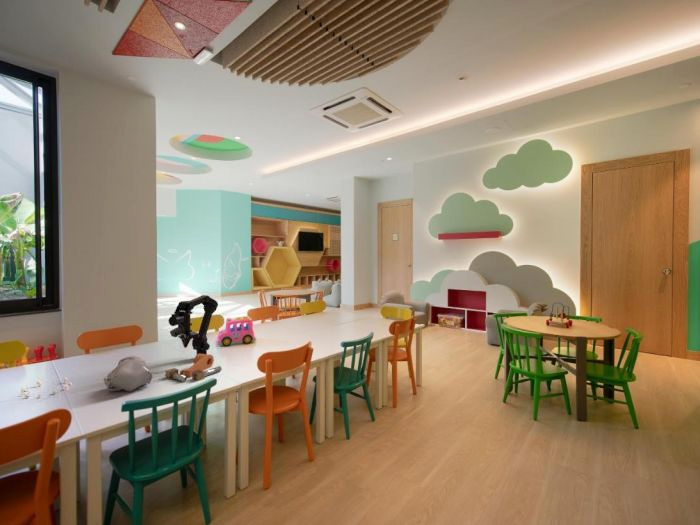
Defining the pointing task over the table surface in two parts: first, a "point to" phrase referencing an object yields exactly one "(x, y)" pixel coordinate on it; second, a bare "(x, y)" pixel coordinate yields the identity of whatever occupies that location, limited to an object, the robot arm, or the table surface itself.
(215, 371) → the shaft
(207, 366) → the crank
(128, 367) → the grey rock
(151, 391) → the table surface
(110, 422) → the table surface
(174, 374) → the hex bolt
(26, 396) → the game piece set
